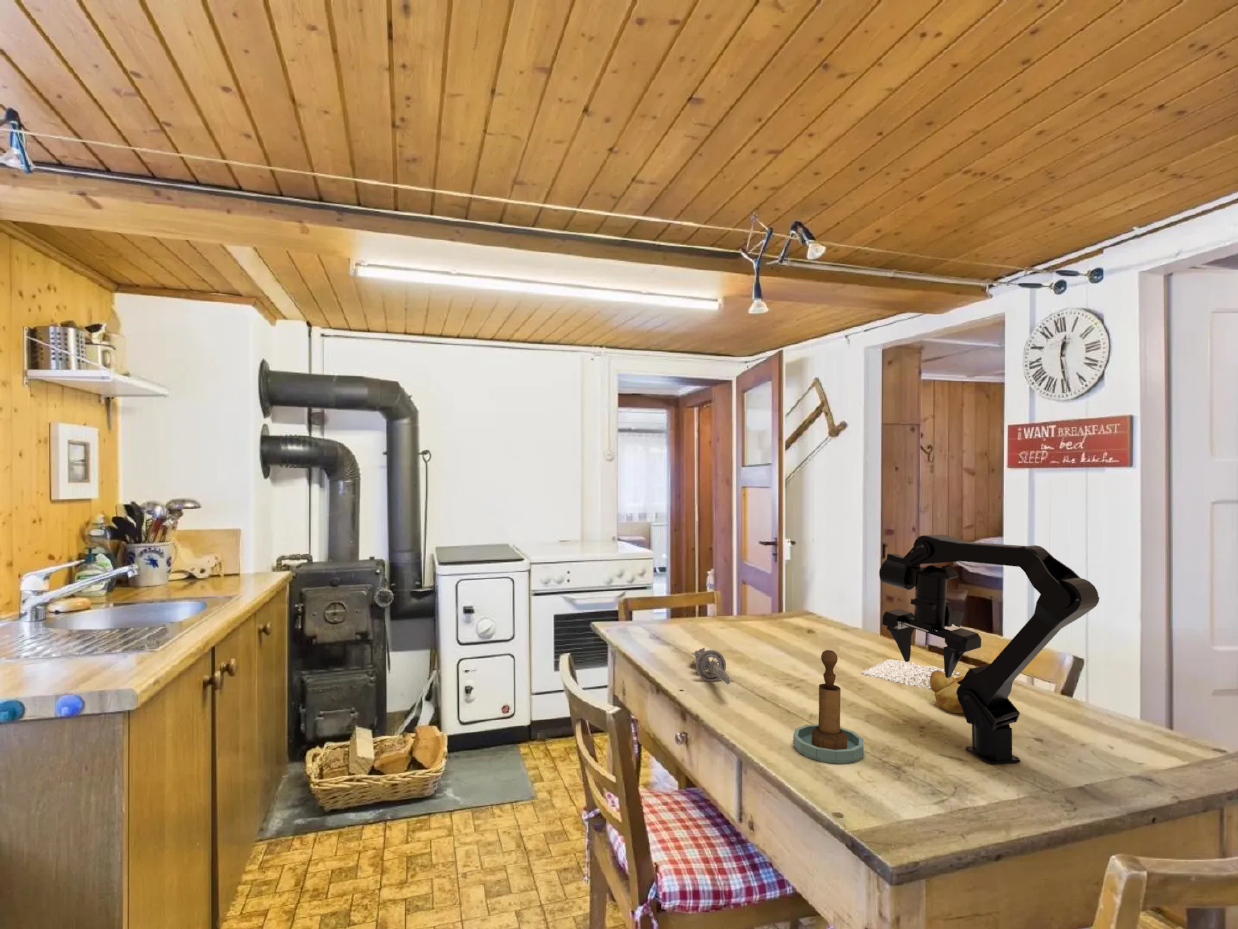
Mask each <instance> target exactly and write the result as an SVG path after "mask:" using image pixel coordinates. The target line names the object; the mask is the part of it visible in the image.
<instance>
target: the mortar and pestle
mask: <svg viewBox="0 0 1238 929" xmlns="http://www.w3.org/2000/svg"><path fill="white" fill-rule="evenodd" d="M820 659H821V663H822V664H823V666H824V668H825V670H824V673H823V680H824V681H823V682H824V683H821V684H819V685H818V724H819V725H818V726H816V727H815V728H814V729H813V730H812V744H813V746H816V747H819V748H826V749H832V750H842V749H847V735H846V733H844V732H843V730H842V729H840V727H841V687H840V686H838V685H835V681H836V678H837V677H836V676H837V675H836V674H835V673H834V669H835V666H836V665H837V663H838V660H839V658H838V655H837V653H836V652H835V651H834V650H831V649H826V650H824V651H822V653H821V655H820Z"/></svg>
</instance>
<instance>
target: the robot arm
mask: <svg viewBox="0 0 1238 929" xmlns="http://www.w3.org/2000/svg"><path fill="white" fill-rule="evenodd" d="M953 562H954V563H955V562H965V563H966V562H967V563H978V564H986V565H996V566H1007V567H1015V568H1020V569H1021V570H1022V571H1023V572H1024V573H1025V575H1026V577H1027V580H1029V582H1030V584H1031V586H1032V587H1033V588H1034V589H1035V591H1037V592H1038V593H1039V597H1038V599H1037V600H1036V603H1035V608H1034V613H1033V615H1032V616H1031V618H1029V620H1028V621H1027V622H1026V623H1025V624H1024V625H1023V627H1021V629H1019V631H1018V632H1017V633H1016V635H1015V636H1014V637H1013V638H1012V639H1011V640H1010V641H1009V642H1008V644H1007V645H1006V646H1005V647H1004V648H1003V650H1001V651H1000V652H999V654H998V655H997V656H996V657H995V658H994V660H993V661H992V662H991V663H990V664H989V665H988V664H983V665H980V666H976V667H972V668H969V669H968V670H967V671H966V674H964V676H963V677H964V678H963V679H962V680H961V681H958V682H957V684H960V686H959V687H958V688H957V691H956V694H957V697H958V701H959V703H960V705H961V706H962V709H963V712H962V713H963V715H964V718H965V721H966V723H968V724H969V725H971V743H972V744H971V746H965V750H966V751H968V752H969V753H971V754H972V755H973V756H976V757H977V758H979V759H980V760H983V762H985V763H986V764H990V765H994V764H995V765H996V764H1007V763H1020V762H1021V758H1019V757H1017V756H1016V755H1014V754H1013V728H1012V727H1011V726H1010V724H1013V723H1014V724H1015V723H1017V722H1018V720H1019V717H1020V715H1021V712H1020V711H1019V709H1017V707H1016V706H1015V704H1013V703H1012V701H1011V700H1010V698H1009V696H1010V694H1011V693H1012V688H1013V683H1014V681H1015V679H1016V678H1017V677H1018V676H1019V675H1020V674H1021V673H1022V672H1023V671H1024V670H1025V669H1026V667H1027V666H1029V664H1030V663H1031V662H1032V661H1033V660H1034V659H1035V658H1036V657H1037V656H1038V654H1040V652H1041V651H1042V650H1043V649H1044V648H1045V647H1046V646H1047V644H1049V643H1050V641H1051V640H1052V639H1053V638H1054V637H1055V636H1056V635H1057V634H1058V633H1059V632H1060V631H1061V630H1062V629H1063V628H1065V627H1067V626H1068V625H1070V624H1072V623H1073V622H1075V621H1077V620H1078V619H1080V618H1082V617H1083V616H1085V615H1086V614H1087V613H1089V612H1091V610H1093V609H1094V608H1096V607H1097V605H1098V604H1099V602H1100V597H1099V591H1098V590H1097V589H1096V586H1095V585H1094V584H1093V583H1091V581H1089V580H1087V579H1085V578H1082V577H1080V576H1079V575H1078V574H1077V572H1075V571H1074V570H1073V569H1072V568H1070V567H1068V566H1067V565H1065V564H1064V563H1063V562H1061V561H1059V560H1058V559H1057V558H1056V557H1054V556H1053V555H1052V554H1051V553H1050V552H1048V551H1047V549H1045V548H1044V547H1043V546H1041V545H1035V544H1034V545H1033V544H1032V545H1015V544H1002V543H1000V544H999V543H988V542H987V543H986V542H973V541H966V540H963V539H961V538H958V537H955V536H951V535H948V534H942V533H941V534H940V533H939V534H929V535H928V534H926V535H923V534H922V535H919V536H917V538H916V539H915V540H914V542H913V546H912V547H911V549H910V550H909V551H908V552H907V553H906V555H904V556H903V555H900V554H897V553H887V554H886V559H885V560H884V561H883V563H882V564H881V566H880V568H879V570H878V571H879V573H878V575H879V579H880V581H881V582H882V583H883V584H885V585H889V586H893V587H896V588H900V589H904V590H906V591H909V590H910V591H911V590H913V589H914V588H915V591H914V598H910V605H913V606H914V610H913V611H914V613H913V612H911V611H907V610H905V609H901V608H895V609H891V610H887V611H885V612H884V613H883V614H882V615H881V625H882V626H885V627H886V630H887V631H889V632H890V634H891V636H892V638H893V639H894V641H895V643H896V645H897V648H898V649H899V651H900V654H901V656H902V658H903V661H905V662H911V661H910V660H911V655H912V654H911V653H912V652H911V651H912V649H911V648H912V635H913V633H914V631H915V630H917V631H921V632H924V633H927V634H929V635H933V636H936V637H938V638H942V639H944V644H945V645H946V646H943V648H942V650H943V651H942V652H943V667H944V668H943V669H944V671H945V676H946V678H950V677H951V676H952V673H953V671H955V669H956V667H957V665H958V663H959V661H960V660H961V658H962V656H963V655H964V654H965V653H967V652H970V651H973V650H976V649H980V648H982V638H981V636H980V634H979V633H978V632H975V631H972V630H969V629H966V628H962V627H961V625H962V621H963V618H964V614H965V613H964V612H963V611H962V612H961V611H959V610H956V609H954V608H952V607H951V606H952V604H951V601H949V600H947V590H948V589H947V586H948V580H951V579H956V578H959V574H958V572H956V570H954V569H953V568H952V566H951V565H950V564H945V565H942V566H936V565H931V564H941V563H943V564H944V563H953ZM921 565H927V566H925V567H924V566H921ZM953 625H954V626H955V627H957V628H955V629H952V630H951V629H948V628H951V627H953ZM945 627H947V628H945Z"/></svg>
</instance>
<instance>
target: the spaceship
mask: <svg viewBox="0 0 1238 929" xmlns="http://www.w3.org/2000/svg"><path fill="white" fill-rule="evenodd" d="M691 654H692V655H693V656H695V657H694V660H693V661H691V663H692V664H695V669H694V670H695V671H696V672H697V673H696V674H697V675H698V676H699V677H700V678H701V679H702V680H704V681H706V682H709V683H711V682H712V683H713V682H717V681H719V680H721V681H723V682H724V683H725V684H727V685H729V684H730V683H731V681H730V677H729V675H728V673H727V672H726V669H727V662H726V659H725V657H724V655H723V654H722V653H720V652H719V651H717V650H715V649H707V650H706V647H703V648H699V650H695V651H694V652H692V653H691ZM709 658H712V660H710V659H709ZM715 659H716V660H715ZM705 670H708V671H707V672H706V671H705Z"/></svg>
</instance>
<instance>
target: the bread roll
mask: <svg viewBox="0 0 1238 929" xmlns="http://www.w3.org/2000/svg"><path fill="white" fill-rule="evenodd" d="M964 677H965V676H958V677H954V676H952V675H951V677H950V678H946V676H945V673H944V672H942V671H939V670H938V671H934V672H932V673H931V676H930V685H929V687H931V689H930V690H931V691H932V692H934V697H935V701H936V704H937V705H938V706H939V707H940V709H943V710H945V711H947V712H950V713H954V714H962V713H964V712H963V709H962V706H961V705H960V703H959V701H958V697H957V694H956V691H957V688H958V687H959V686H960V684H957V682H958V681H961V680H962V679H963V678H964Z"/></svg>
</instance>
